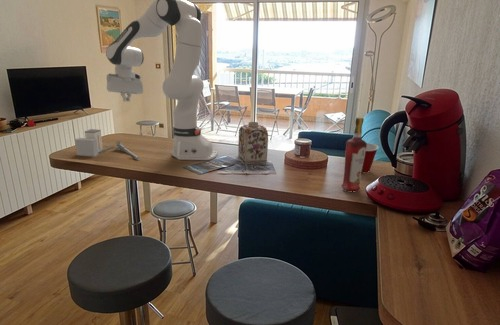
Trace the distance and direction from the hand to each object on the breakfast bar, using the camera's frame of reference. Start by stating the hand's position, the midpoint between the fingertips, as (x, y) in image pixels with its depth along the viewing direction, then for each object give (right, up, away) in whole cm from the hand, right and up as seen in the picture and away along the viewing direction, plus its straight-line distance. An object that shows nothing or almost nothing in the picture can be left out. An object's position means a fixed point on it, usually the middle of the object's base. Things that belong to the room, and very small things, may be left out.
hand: (126, 101), depth 176 cm
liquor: (+105, -44, -50) cm, 125 cm away
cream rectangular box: (-10, -28, -16) cm, 33 cm away
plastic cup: (+117, -37, -29) cm, 126 cm away
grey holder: (-9, -28, -14) cm, 33 cm away
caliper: (+7, -30, -16) cm, 35 cm away
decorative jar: (+68, -31, -14) cm, 76 cm away
